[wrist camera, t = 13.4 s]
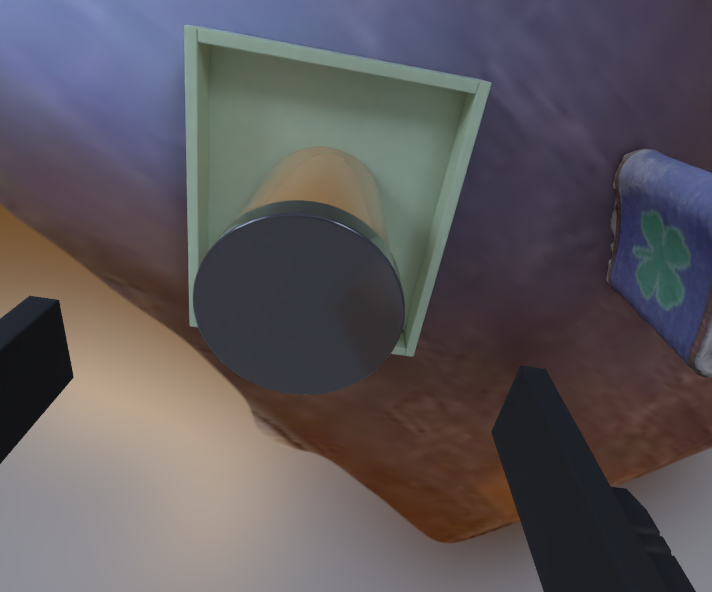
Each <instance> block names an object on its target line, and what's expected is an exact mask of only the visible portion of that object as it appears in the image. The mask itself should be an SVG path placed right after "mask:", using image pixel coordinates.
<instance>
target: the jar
mask: <svg viewBox="0 0 712 592" xmlns="http://www.w3.org/2000/svg"><path fill="white" fill-rule="evenodd" d="M193 308H194V314H195V318H196V322H197V325H198V328H199V330H200V333H201V335H202V337H203V338H204V340H205V342H206V344H207V345H208V347H209V348H210V349H211V351H212V352H213V353H214V355H215V356H216V357H217V358H218V359H219V360H220V361H221V362H222V363H223V364H224V365H226V366H227V367H228V368H229V369H230V370H232V371H233V372H234V373H236V374H237V375H239V376H240V377H242V378H244V379H246V380H248V381H250V382H251V383H253V384H256V385H258V386H261V387H263V388H266V389H270V390H273V391H277V392H282V393H288V394H298V395H315V394H323V393H329V392H333V391H337V390H340V389H343V388H346V387H349V386H351V385H353V384H355V383H358V382H360V381H361V380H363V379H365V378H366V377H368V376H369V375H371V374H372V373H373V372H374V371H376V370H377V369H378V368H379V367H380V366H381V365H382V364H383V363H384V362H385V361H386V360H387V358H388V357H389V355H390V354H391V353H392V351H393V350H394V348H395V346H396V344H397V342H398V340H399V338H400V335H401V332H402V329H403V324H404V318H405V301H404V294H403V288H402V283H401V277H400V273H399V270H398V266H397V264H396V261H395V259H394V257H393V255H392V253H391V249H390V242H389V236H388V230H387V224H386V217H385V211H384V205H383V199H382V194H381V191H380V188H379V186H378V183H377V181H376V180H375V178H374V176H373V175H372V173H371V172H370V171H369V170H368V168H367V167H366V166H365V165H364V164H363V163H362V162H360V161H359V160H358V159H356V158H355V157H353V156H352V155H350V154H348V153H346V152H343V151H341V150H338V149H334V148H330V147H309V148H303V149H300V150H297V151H295V152H292V153H290V154H288V155H287V156H285V157H284V158H282V159H281V160H280V161H279V162H277V163H276V164H275V165H274V167H273V168H272V169H271V170H270V171H269V173H268V174H267V176H266V177H265V179H264V180H263V182H262V183H261V185H260V186H259V188H258V189H257V191H256V192H255V194H254V195H253V197H252V198H251V200H250V201H249V203H248V204H247V206H246V207H245V209H244V210H243V212H242V213H241V215H240V216H239V217H238V218H237V219H236V220H235V221H234V222H232V223H231V224H230V225H229V226H228V227H227V228H226V229H225V230H224V231H223V232H222V233H221V235H220V236H219V237H218V238H217V240H216V241H215V242H214V244H213V245H212V247H211V248H210V250H209V251H208V252H207V254H206V256H205V257H204V259H203V261H202V262H201V264H200V267H199V269H198V272H197V274H196V278H195V282H194V287H193Z"/></svg>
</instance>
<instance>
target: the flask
mask: <svg viewBox="0 0 712 592" xmlns="http://www.w3.org/2000/svg"><path fill="white" fill-rule="evenodd" d="M613 185H614V186H613V189H616V197H615V198H616V199H615V202H616V203H615V204H614V209H613V210H612V218H611V219H610V221H611V226H610V227H611V228H612V230H613V233H614V236H615V239H614V243H612V244H610V246H611V249H612V257H611V259H610V261H609V262H608V263H609V267H608V268H609V269H608V271H607V277H606V281H607V282H608V284H609V285H610V286H611V287H612V288H613V289H614V290H615V291H616V292H618V293H619V294H620V295H621V296H622V297H623V298H624V299H625V300H627V301H628V302H629V304H630V305H631V306H632V307H633V308H634V310H635V311H636V312H637V313H638V314H639V316H640V317H641V318H642V319H643V320H645V321H646V322H647V323H648V324H649V325H650V326H652V327H653V328H654V329H655V330H656V332H657V333H658V334H659V335H660V336H661V337H662V338H663V339H664V340H665V341H666V342H667V343H668V344H669V345H670V347H671V348H673V349H674V350H675V352H676V353H677V354H678V355H679V356H680V357H681V358H682V359H683V360H684V361H685V362H686V364H687V365H688V366H689V367H691V368H692V369H693V370H694V371H695V372H696V373H697V374H698V375H700V376H702V377H712V173H711V172H708V171H706V170H704V169H700V168H697V167H693V166H691V165H688V164H686V163H683V162H681V161H678V160H675V159H673V158H671V157H668V156H665V155H663V154H661V153H660V152H658V151H656V150H654V149H639V150H635V151H633V152H631V153H628V154H625V155H624V156H623V159H622V161H621V163H620V164H619V167H618V169H617V171H616V174H615V179H614V182H613Z"/></svg>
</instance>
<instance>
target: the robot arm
mask: <svg viewBox="0 0 712 592" xmlns="http://www.w3.org/2000/svg"><path fill="white" fill-rule="evenodd" d="M72 379H73V372H72V366H71V361H70V356H69V351H68V345H67V341H66V335H65V330H64V324H63V319H62V314H61V309H60V303H59V300H55V299H48V298H41V297H34V296H29V297H28V298H26V299H25V300H24V301H22V302H21V303H20V304H19V305H17V306H16V307H15V308H13V309H12V310H11V311H10V312H9V313H7V314H6V315H5V316H3V317H2V318H1V319H0V464H1V462H2V461H3V460H4V459H5V458H6V457H7V455H8V454H9V453H10V452H11V451H12V449H13V448H14V447H15V446H16V445H17V444H18V442H19V441H20V440H21V439H22V438H23V436H24V435H25V434H26V433H27V432H28V430H29V429H30V428H31V427H32V426H33V425H34V423H35V422H36V421H37V420H38V419H39V418H40V416H41V415H42V414H43V413H44V412H45V410H46V409H47V408H48V407H49V406H50V404H51V403H52V402H53V401H54V400H55V399H56V398H57V396H58V395H59V394H60V393H61V392H62V390H63V389H64V388H65V387H66V386H67V385H68V383H69V382H70V381H71V380H72ZM491 432H492V436H493V439H494V442H495V445H496V448H497V451H498V454H499V457H500V460H501V463H502V466H503V469H504V472H505V475H506V478H507V481H508V484H509V487H510V490H511V493H512V496H513V499H514V502H515V505H516V508H517V512H518V515H519V518H520V521H521V524H522V526H523V530H524V533H525V536H526V539H527V542H528V545H529V548H530V551H531V554H532V557H533V560H534V563H535V566H536V569H537V572H538V575H539V578H540V581H541V585H542V587H543V591H544V592H696V591H695V590H694V588H693V586H692V585H691V583H690V581H689V580H688V578H687V576H686V575H685V573H684V571H683V570H682V568H681V566H680V565H679V563H678V561H677V560H676V558H675V557H674V556H672V555H671V550H670V548H669V547H668V545H667V543H666V542H665V540H664V538H663V537H661V536H660V532H659V530H658V528H657V527H656V525H655V524H654V522H653V520H652V518H651V517H650V515H649V513H648V512H647V510H646V509H645V508H644V507H643V506H642V505H641V504H640V503H639V502H638V500H637V499H636V498H635V497H634V496H633V495H632V494H631V493H630V492H629V491H628V490H627V489H624V488H616V487H611V486H610V485H609V483H608V481H607V479H606V477H605V476H604V474H603V472H602V470H601V468H600V467H599V465H598V463H597V461H596V459H595V458H594V456H593V454H592V452H591V450H590V449H589V447H588V445H587V443H586V441H585V440H584V438H583V436H582V434H581V432H580V431H579V429H578V427H577V425H576V423H575V422H574V420H573V418H572V416H571V414H570V413H569V411H568V409H567V407H566V405H565V403H564V402H563V400H562V398H561V396H560V394H559V393H558V391H557V389H556V387H555V385H554V384H553V382H552V380H551V378H550V376H549V375H548V373H547V371H546V369H540V368H533V367H526V366H520V368H519V371H518V373H517V375H516V377H515V380H514V382H513V384H512V386H511V389H510V391H509V393H508V395H507V398H506V400H505V402H504V404H503V407H502V409H501V411H500V413H499V416H498V418H497V420H496V422H495V425H494V427H493V429H492V431H491Z"/></svg>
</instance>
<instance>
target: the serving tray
mask: <svg viewBox="0 0 712 592" xmlns="http://www.w3.org/2000/svg"><path fill="white" fill-rule="evenodd" d="M184 60H185V112H186V164H187V216H188V268H189V320H190V326H192V327H198V325H197V322H196V318H195V314H194V308H193V287H194V282H195V278H196V274H197V272H198V269H199V267H200V264H201V262H202V261H203V259H204V257H205V256H206V254H207V252H208V251H209V250H210V248H211V247H212V245H213V244H214V242H215V241H216V240H217V238H218V237H219V236H220V235H221V233H222V232H223V231H224V230H225V229H226V228H227V227H228V226H229V225H230V224H231V223H232V222H234V221H235V220H236V219H237V218H238V217H239V216H240V215H241V213H242V212H243V210H244V209H245V207H246V206H247V204H248V203H249V201H250V200H251V198H252V197H253V195H254V194H255V192H256V191H257V189H258V188H259V186H260V185H261V183H262V182H263V180H264V179H265V177H266V176H267V174H268V173H269V171H270V170H271V169H272V168H273V167H274V165H275V164H276V163H277V162H279V161H280V160H281V159H282V158H284V157H285V156H287V155H288V154H290V153H292V152H295V151H297V150H300V149H303V148H309V147H330V148H334V149H338V150H341V151H343V152H346V153H348V154H350V155H352V156H353V157H355V158H356V159H358V160H359V161H360V162H362V163H363V164H364V165H365V166H366V167H367V168H368V170H369V171H370V172H371V173H372V175H373V176H374V178H375V180H376V181H377V183H378V186H379V188H380V191H381V194H382V199H383V205H384V211H385V217H386V224H387V230H388V236H389V242H390V249H391V253H392V255H393V257H394V259H395V261H396V264H397V266H398V270H399V273H400V277H401V283H402V288H403V294H404V301H405V318H404V324H403V329H402V332H401V335H400V338H399V340H398V342H397V344H396V346H395V348H394V350H393V351H392V353H391V354H396V355H405V356H411V357H413V356H414V353H415V350H416V346H417V343H418V339H419V336H420V332H421V329H422V325H423V322H424V318H425V315H426V311H427V308H428V304H429V301H430V297H431V294H432V290H433V287H434V283H435V280H436V276H437V273H438V269H439V266H440V262H441V259H442V255H443V252H444V248H445V245H446V241H447V238H448V234H449V231H450V227H451V224H452V221H453V217H454V214H455V210H456V207H457V203H458V200H459V196H460V193H461V189H462V186H463V182H464V179H465V175H466V172H467V168H468V165H469V161H470V158H471V154H472V151H473V147H474V144H475V140H476V137H477V133H478V130H479V126H480V123H481V119H482V116H483V112H484V109H485V105H486V102H487V98H488V95H489V92H490V88H491V83H490V82H487V81H484V80H481V79H477V78H472V77H466V76H461V75H456V74H450V73H445V72H440V71H435V70H429V69H424V68H419V67H414V66H408V65H403V64H398V63H392V62H387V61H382V60H377V59H371V58H366V57H361V56H355V55H350V54H345V53H340V52H334V51H329V50H324V49H318V48H313V47H308V46H303V45H297V44H292V43H287V42H281V41H276V40H271V39H266V38H260V37H255V36H250V35H245V34H239V33H234V32H229V31H223V30H218V29H213V28H208V27H202V26H192V25H184Z"/></svg>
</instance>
